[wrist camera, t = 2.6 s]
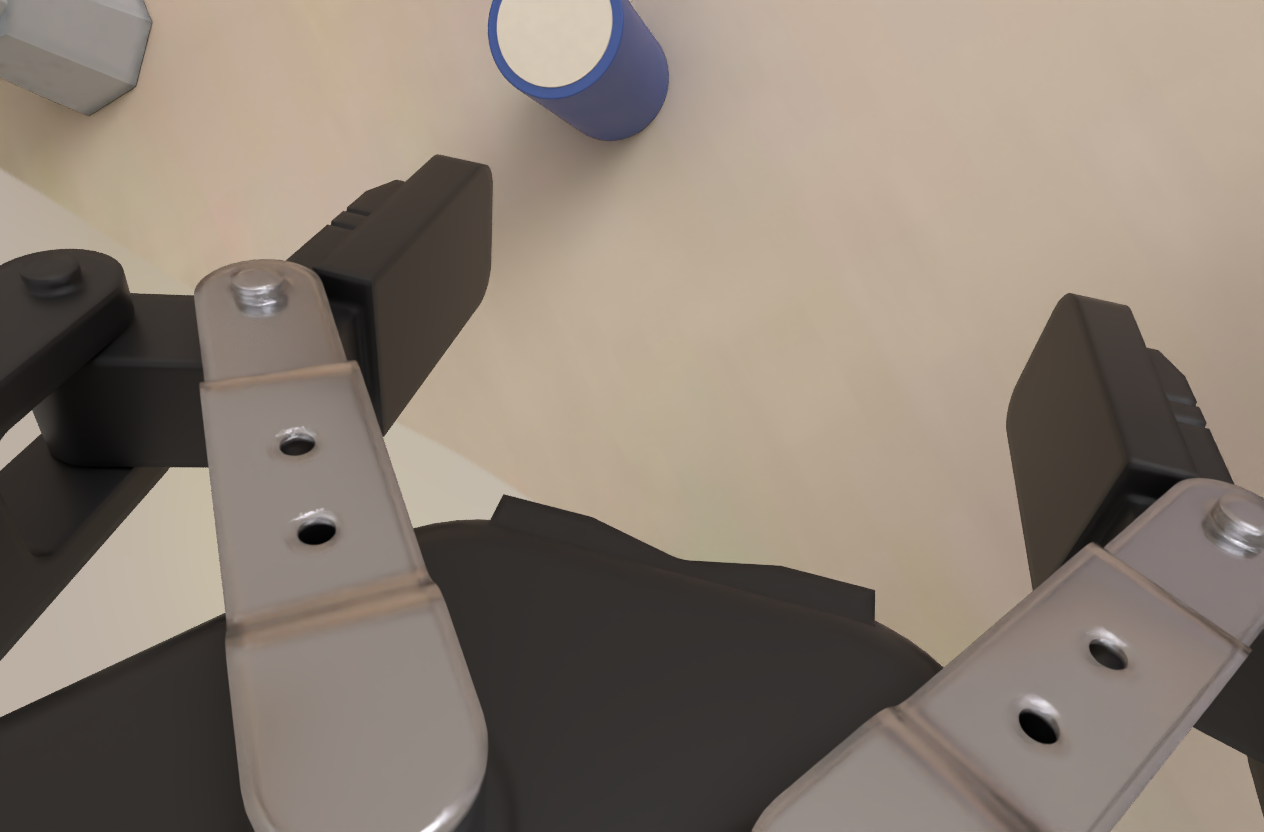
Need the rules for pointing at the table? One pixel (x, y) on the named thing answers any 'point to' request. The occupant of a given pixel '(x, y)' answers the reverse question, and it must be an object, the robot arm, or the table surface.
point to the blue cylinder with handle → (582, 62)
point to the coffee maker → (73, 48)
